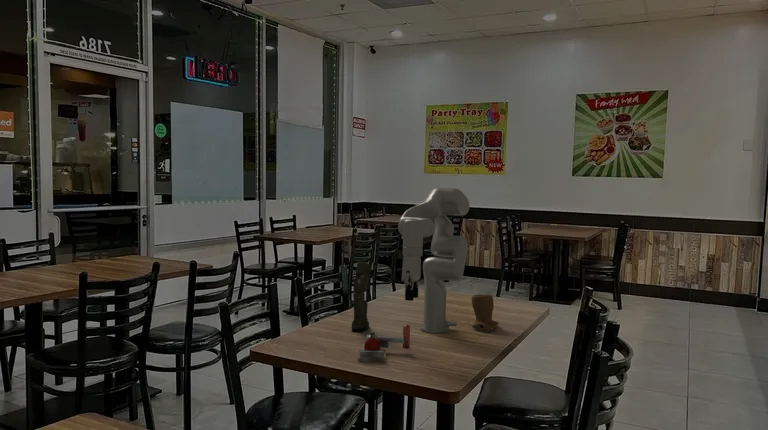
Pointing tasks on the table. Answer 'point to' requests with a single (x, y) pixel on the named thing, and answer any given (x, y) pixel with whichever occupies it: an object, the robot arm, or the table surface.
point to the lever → (394, 338)
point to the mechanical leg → (360, 297)
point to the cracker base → (372, 354)
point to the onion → (372, 344)
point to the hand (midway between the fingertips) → (411, 298)
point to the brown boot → (483, 312)
